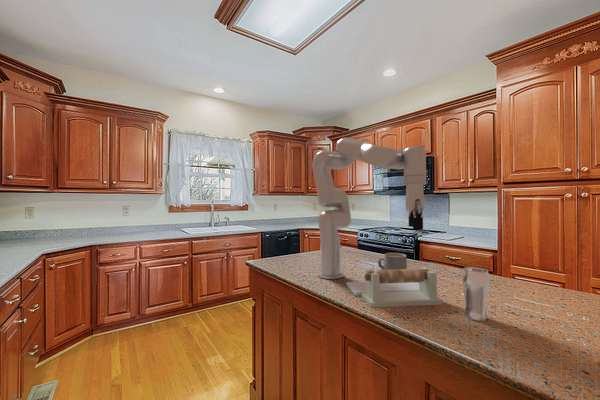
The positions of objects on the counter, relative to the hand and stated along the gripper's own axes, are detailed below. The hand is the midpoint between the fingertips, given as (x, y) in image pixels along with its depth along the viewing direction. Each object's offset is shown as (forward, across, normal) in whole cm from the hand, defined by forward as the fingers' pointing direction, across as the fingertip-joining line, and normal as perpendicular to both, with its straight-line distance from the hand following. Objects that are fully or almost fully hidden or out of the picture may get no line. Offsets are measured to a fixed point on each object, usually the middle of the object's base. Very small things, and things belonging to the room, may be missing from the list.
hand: (415, 227), depth 101 cm
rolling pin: (+20, +1, -6) cm, 21 cm away
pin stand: (+26, +1, -6) cm, 27 cm away
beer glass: (+27, +11, +16) cm, 33 cm away
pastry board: (+26, -11, -10) cm, 30 cm away
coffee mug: (+26, -33, -5) cm, 43 cm away
